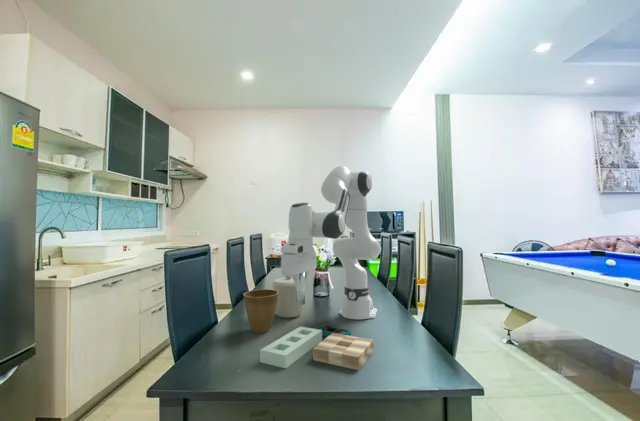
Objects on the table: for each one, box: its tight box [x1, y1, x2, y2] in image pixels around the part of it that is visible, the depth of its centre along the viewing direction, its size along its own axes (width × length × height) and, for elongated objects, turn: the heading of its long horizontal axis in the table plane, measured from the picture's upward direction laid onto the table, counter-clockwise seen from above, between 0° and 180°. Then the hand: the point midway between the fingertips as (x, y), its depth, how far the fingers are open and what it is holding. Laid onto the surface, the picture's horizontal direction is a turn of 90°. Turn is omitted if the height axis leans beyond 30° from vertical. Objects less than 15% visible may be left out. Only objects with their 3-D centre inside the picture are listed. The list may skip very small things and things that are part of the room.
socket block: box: [312, 333, 375, 371], centre depth 105 cm, size 16×16×4 cm
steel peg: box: [296, 272, 306, 306], centre depth 109 cm, size 3×3×12 cm
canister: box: [270, 276, 304, 319], centre depth 153 cm, size 18×18×21 cm
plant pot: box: [243, 288, 278, 334], centre depth 131 cm, size 15×15×16 cm
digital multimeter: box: [314, 324, 352, 338], centre depth 124 cm, size 7×15×3 cm, turn 49°
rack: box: [259, 326, 323, 369], centre depth 109 cm, size 26×10×4 cm, turn 154°
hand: (300, 285), depth 109 cm, fingers closed on steel peg, 3 cm apart
